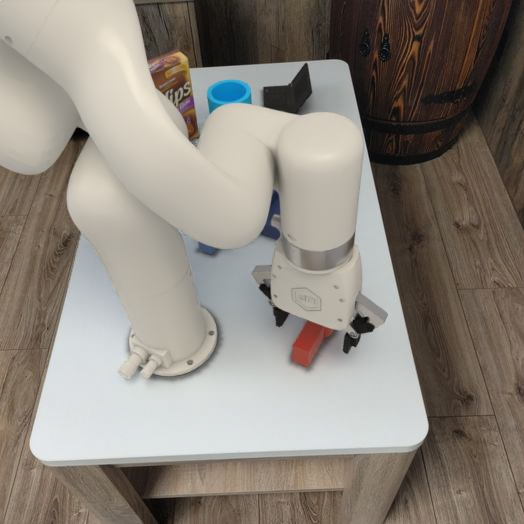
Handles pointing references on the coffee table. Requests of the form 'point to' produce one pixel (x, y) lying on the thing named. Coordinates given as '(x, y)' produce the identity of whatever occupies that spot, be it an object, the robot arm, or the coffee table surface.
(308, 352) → the red domed-end block
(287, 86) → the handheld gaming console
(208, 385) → the coffee table surface
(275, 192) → the blue tray
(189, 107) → the candy box
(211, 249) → the rounded-end blue block
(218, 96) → the mug
